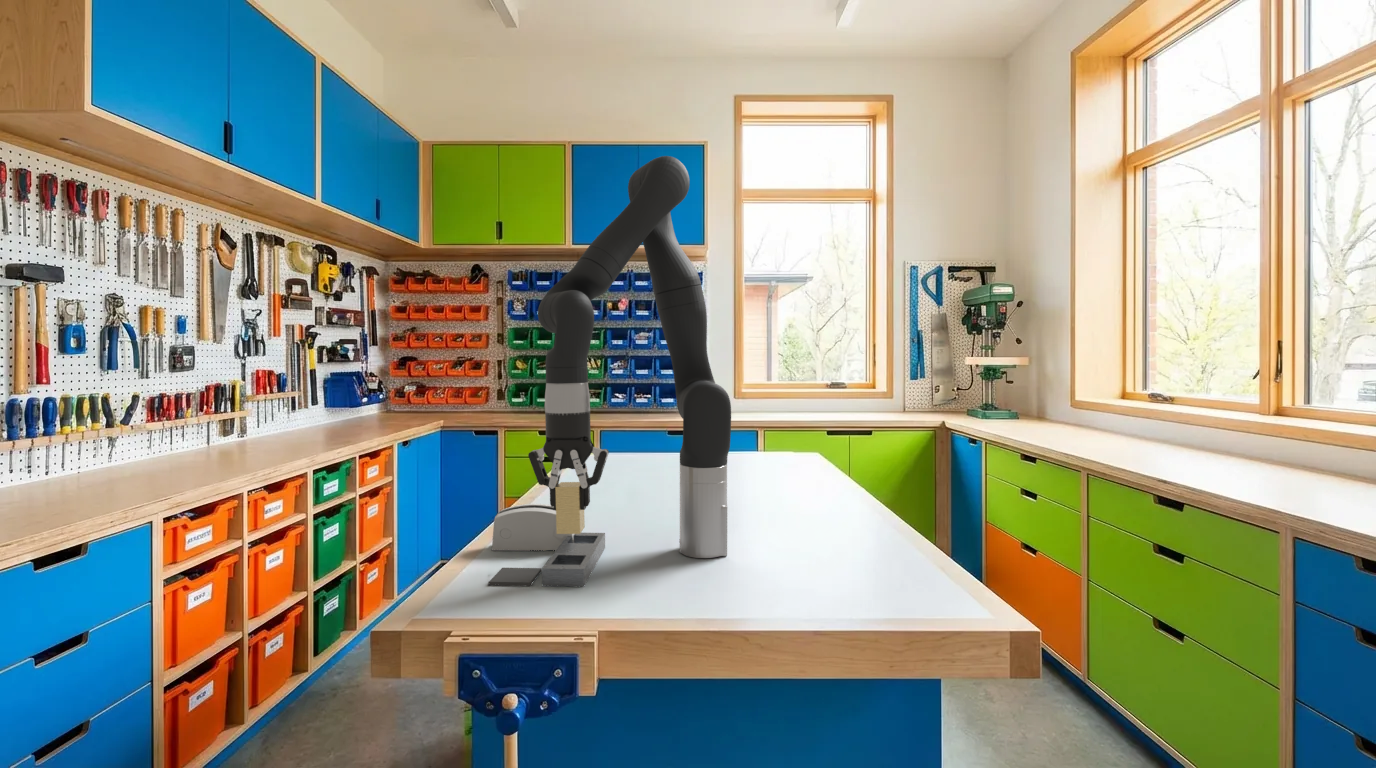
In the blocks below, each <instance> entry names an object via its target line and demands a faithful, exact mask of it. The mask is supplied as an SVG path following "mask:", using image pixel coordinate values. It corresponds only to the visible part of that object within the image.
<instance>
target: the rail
mask: <svg viewBox="0 0 1376 768" xmlns="http://www.w3.org/2000/svg"><path fill="white" fill-rule="evenodd" d="M605 549H606V533H605V532H581V533H580V534H575V535H574V543H572V536H567V537H566V538H565V540H564V541H563V542H562V543H561V545H560V546H559V547H558V549H557V550H556V551H553V554H552V555H551V556H550V558H549V559H548V560H547V561H546V563H545V564H544V565H543V566H542V568H541V586H542V587H561V586H577V587H578V588H583V587H582V586H584V585H586V584H587V582H588V581H589V578H590V577H591V575H590V574H592V573H593V572H594V569H595V568H596V566H597V564H598V562H599V560H600V559H601V556H602V555H603V552H604V550H605ZM596 563H597V564H596ZM595 565H596V566H595ZM591 572H592V573H591ZM589 576H590V577H589ZM579 586H580V587H579ZM577 587H576V588H577ZM584 587H585V586H584Z"/></svg>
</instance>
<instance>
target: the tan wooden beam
mask: <svg viewBox="0 0 1376 768" xmlns="http://www.w3.org/2000/svg"><path fill="white" fill-rule="evenodd" d="M555 489H556V528H557V534H580V533H583V532H582V531H583V530H584V529H585V526H586V525H585V522H586V521H585V510H581V503H580V489H581V485H580V482H579V481H559V484H558V485H557V486H556V487H555Z"/></svg>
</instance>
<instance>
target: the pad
mask: <svg viewBox="0 0 1376 768" xmlns="http://www.w3.org/2000/svg"><path fill="white" fill-rule="evenodd" d="M540 572H541V573H542V568H541V567H501V568H500V569H499V570H498V571H497V573H495V574H494V576H493V577H492V578H491V579H489V581H488V586H496V587H497V586H498V587H499V586H502V587H503V586H505V587H507V586H508V587H509V586H510V587H511V586H512V587H513V586H514V587H515V586H516V587H531V586H532V585H533V583H534V582H535V581H536V579H537V578H538V577H539V575H540V574H541V573H540ZM539 573H540V574H539ZM537 576H538V577H537ZM536 577H537V578H536ZM535 578H536V579H535ZM533 581H534V582H533ZM532 582H533V583H532ZM530 585H531V586H530Z"/></svg>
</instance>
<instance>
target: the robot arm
mask: <svg viewBox="0 0 1376 768" xmlns="http://www.w3.org/2000/svg"><path fill="white" fill-rule="evenodd" d="M628 180H629V181H628V186H627V193H628V199H629V203H628V204H627V205H626V207H625V208H623V210H622V211H621V212H620V213H619V214H618V215H617V216H616V217H615V218H614V219H613V220H612V221H611V222H610V223H609V224H608V225H607V226H606V227H605V229H603V230H602V231H601V232H600V233H599V234H598V235H597V236H596V237H595V238H594V239H593V241H592V242H591V243H590V245H589V246H588V247H587V249H586V250H585V251H584V252H583V254H582V255H581V256H580V257H579V259H578V260H577V262H576V263H575V264H574V266H573V267H572V268H571V270H569V272H567V273H566V274H565V275H563V276H562V278H560V279H559V280H558V281H557V282H556V283H555V284H554V285H553V286H552V287H551V288H550V289H549V290H548V291H547V292H546V293H545V294H544V296H543V298H542V299H541V301H540V303H539V306H538V309H537V318H538V322H539V324H540V325H541V327H542V328H543V329H545V330H546V331H547V332H549V333H552V334H555V337H554V344H553V347H552V348H551V349H550V350H548V351H547V352H546V356H545V392H544V413H545V417H544V419H545V421H544V422H545V442H544V445H543V447H542V448H539V449H533V450H532V451H530V452H528V454H527V455H528V456H527V457H528V458H529V462H530V464H531V467H532V471H533V472H534V474H535V478H536V480H537V483H538V484H539V486H546V487H548V488H549V489H548V490H549V505H551V507H554V510H556V489H555V487H556V486H557V485H558V484H559V483H560V479H561V476H562V472H563V470H565V469H571V470H574V471H575V473H576V476H577V478H578V482H580V485H581V489H580V503H581V510H584V511H585V510H586V508H587V507H588V506H590V502H591V490H590V489H591V488H590V487H591V486H594V485H597V484H598V483H599V482H600V480H601V478H602V475H603V471H604V469H605V466H606V462H607V460H608V457H609V454H610V453H609V452H610V451H609V449H607V448H603V449H602V448H599V447H596V446H594V443H593V441H592V439H591V438H592V437H591V429H592V428H591V396H590V389H589V374H588V373H589V372H588V371H589V370H588V369H589V368H588V355H589V351H590V347H591V344H592V337H593V333H594V326H595V313H594V312H595V311H594V307H593V304H592V302H591V301H593V300H594V299H596V298H597V297H600V296H602V295H604V294H605V293H606V292H607V291H608V290H609V289H610V288H611V286H612V285H613V283H614V282H615V280H616V279H617V277H619V276H620V274H621V273H622V271H623V269H625V267H626V265H627V264H628V262H629V261H630V260H631V258H632V257H633V256H634V254H635V253H636V251H638V249H639V247H641V245H642V244H643V248H644V253H645V258H646V262H647V265H648V270H649V275H650V279H651V285H652V288H653V289H652V290H653V295H654V299H655V303H656V309H657V312H658V313H657V314H658V317H659V321H660V325H661V328H662V333H663V336H664V340H665V343H666V347H667V350H668V352H669V355H670V359H671V360H670V361H671V365H672V370H673V379H674V387H675V397H676V398H675V399H676V405H677V410H678V414H679V415H680V417H681V419H682V420H683V421H682V422H683V423H682V445H681V449H680V450H679V541H678V542H679V553H680V554H681V555H684V556H686V557H689V558H697V559H712V558H717V557H727V556H728V456H729V452H730V449H731V437H732V436H731V433H732V404H731V399H730V396H729V394H728V392H727V391H726V390H725V389H724V388H723V387H722V386H721V385H719V384H717V383H716V382H715V379H714V375H713V372H712V369H711V364H710V360H709V355H708V349H707V348H708V347H707V345H708V343H707V342H708V341H707V340H708V337H707V336H708V318H707V317H708V315H707V306H706V301H705V296H704V292H703V287H702V282H701V278H700V275H699V273H698V271H697V269H696V267H695V266H694V264H693V263H692V261H691V260H690V258H689V257H688V255H687V254H686V253H685V251H684V250H683V248H682V247H681V246H680V243H679V242H678V239H677V237H676V233H675V229H674V224H673V221H672V215H671V213H672V211H673V209H675V208H676V207H677V206H678V205H680V203H682V202H683V201H684V199H685V198H686V197H687V195H688V192H689V190H690V185H691V184H690V181H691V180H690V175H689V171H688V170H687V168H686V166H685V165H684V163H682V162H681V161H680V160H679V159H678V158H676V157H674V156H671V155H670V156H669V155H662V156H659V157H656V158H653V159H651V160H650V161H648V162H646V163H645V164H643V165H642V166H641V167H639V168H637V169H636V170H635V171H634V172H632V175H630V178H629V179H628ZM592 454H593V459H594V461H595V463H596V464H595V467H594V470H593V473H592V475H591V476H589V474H588V473H589V472H588V467H587V463H586V462H587V460H588V459H589V458H590V456H591V455H592ZM545 455H546V457H547V459H548V460H549V461H550V462H551V463H552V466H551V471H550V476H548V473H547V470H546V468H545V465H544V462H543V461H544V460H545Z"/></svg>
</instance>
